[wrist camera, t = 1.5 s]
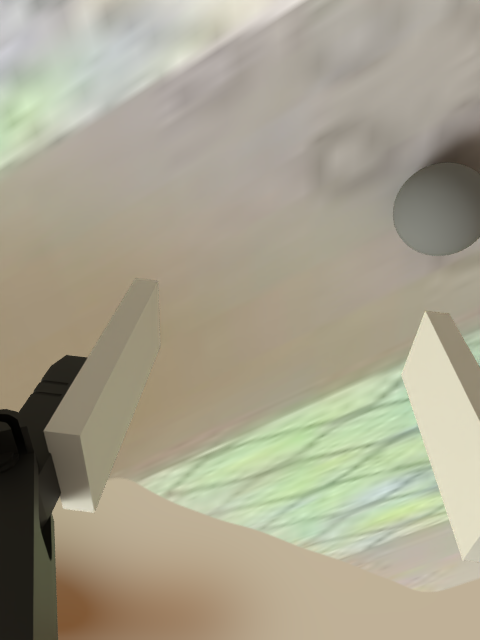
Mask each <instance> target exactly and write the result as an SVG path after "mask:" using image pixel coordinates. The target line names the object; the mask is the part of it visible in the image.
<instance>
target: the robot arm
mask: <svg viewBox="0 0 480 640" xmlns="http://www.w3.org/2000/svg"><path fill="white" fill-rule="evenodd" d="M159 349H160V319H159V286H158V281H157V280H148V279H139V278H135V280H134V282H133V283H132V285H131V287H130V288H129V290H128V291H127V293H126V295H125V296H124V298H123V300H122V301H121V303H120V305H119V306H118V308H117V310H116V311H115V313H114V315H113V316H112V318H111V320H110V321H109V323H108V325H107V326H106V328H105V330H104V331H103V333H102V335H101V336H100V338H99V340H98V341H97V343H96V345H95V346H94V348H93V350H92V351H91V353H90V355H89V356H88V358H86V357H78V356H69V355H66V356H65V357H63V358H62V359H60V360H59V361H57V362H56V363H55V364H53V365H52V366H51V367H50V368H49V370H48V371H47V372H46V374H45V375H44V377H43V378H42V380H41V383H39V384H38V385H37V387H36V388H35V390H34V393H33V394H31V395H30V397H29V398H28V400H27V401H26V403H25V404H24V406H23V407H22V408H21V410H20V411H19V413H18V412H16V411H11V410H7V409H2V410H0V640H58V627H57V597H56V567H55V537H54V520H53V516H52V510H53V509H54V507H55V505H56V502H57V500H58V498H59V496H60V497H61V501H62V505H63V509H69V510H77V511H85V512H93V513H94V512H95V510H96V508H97V505H98V503H99V500H100V498H101V495H102V493H103V490H104V488H105V485H106V482H107V480H108V477H109V475H110V472H111V470H112V467H113V465H114V462H115V460H116V457H117V455H118V452H119V450H120V447H121V445H122V442H123V440H124V437H125V434H126V432H127V429H128V427H129V424H130V422H131V419H132V417H133V414H134V412H135V409H136V407H137V404H138V402H139V399H140V397H141V394H142V391H143V389H144V386H145V384H146V381H147V379H148V376H149V374H150V371H151V369H152V366H153V364H154V361H155V359H156V356H157V354H158V351H159ZM401 375H402V378H403V381H404V384H405V388H406V391H407V394H408V397H409V400H410V403H411V406H412V409H413V412H414V415H415V418H416V421H417V424H418V427H419V430H420V433H421V436H422V439H423V442H424V445H425V448H426V451H427V454H428V457H429V460H430V463H431V466H432V469H433V472H434V475H435V478H436V481H437V484H438V487H439V490H440V493H441V496H442V499H443V502H444V505H445V508H446V511H447V514H448V517H449V520H450V523H451V527H452V530H453V533H454V536H455V539H456V542H457V545H458V548H459V551H460V554H461V557H462V560H464V561H472V562H480V367H479V365H478V363H477V362H476V360H475V358H474V356H473V355H472V353H471V351H470V349H469V348H468V346H467V344H466V342H465V341H464V339H463V337H462V335H461V334H460V332H459V330H458V328H457V327H456V325H455V323H454V321H453V320H452V318H451V316H450V314H449V313H440V312H431V311H425V313H424V316H423V318H422V321H421V324H420V326H419V329H418V332H417V334H416V337H415V340H414V342H413V345H412V348H411V350H410V353H409V355H408V358H407V361H406V363H405V366H404V369H403V371H402V374H401Z"/></svg>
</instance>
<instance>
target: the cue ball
mask: <svg viewBox="0 0 480 640" xmlns="http://www.w3.org/2000/svg"><path fill="white" fill-rule="evenodd" d="M393 220H394V225H395V228H396V230H397V233H398V234H399V236H400V238H401V239H402V240H403V241H404V243H406V244H407V245H408V246H409V247H411V248H412V249H414V250H415V251H417V252H420V253H423V254H426V255H431V256H444V255H450V254H454V253H457V252H459V251H462V250H464V249H465V248H467V247H469V246H470V245H472V244H473V243H474V242H475V241H476V240H477V239H478V238H479V237H480V174H479V173H478V172H476V171H475V170H473V169H471V168H470V167H468V166H465V165H462V164H458V163H438V164H434V165H431V166H428V167H425V168H423V169H421V170H420V171H418V172H416V173H415V174H414V175H412V176H411V177H410V178H409V179H408V180H407V181H406V182H405V183H404V185H403V186H402V188H401V189H400V191H399V193H398V195H397V197H396V200H395V203H394V208H393Z"/></svg>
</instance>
